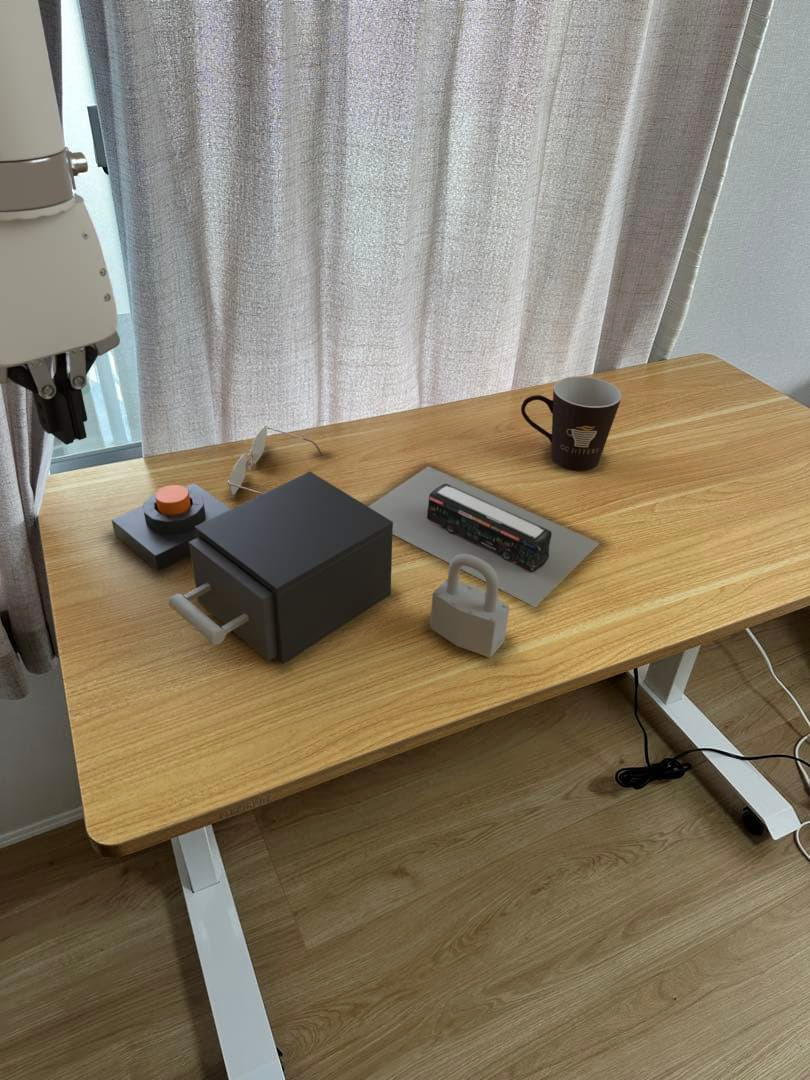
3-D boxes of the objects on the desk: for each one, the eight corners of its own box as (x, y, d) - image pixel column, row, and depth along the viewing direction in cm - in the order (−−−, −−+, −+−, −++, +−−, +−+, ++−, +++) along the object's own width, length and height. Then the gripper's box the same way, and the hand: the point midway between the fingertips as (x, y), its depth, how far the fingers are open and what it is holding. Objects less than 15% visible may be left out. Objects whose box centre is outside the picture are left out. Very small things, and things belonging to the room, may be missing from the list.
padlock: (507, 639, 81) (519, 561, 75) (487, 662, 78) (498, 584, 72) (447, 610, 84) (454, 533, 78) (426, 632, 81) (431, 554, 75)
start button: (169, 519, 88) (166, 506, 87) (151, 506, 90) (148, 493, 89) (196, 507, 90) (195, 494, 89) (178, 493, 92) (176, 481, 91)
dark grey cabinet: (282, 664, 77) (276, 588, 71) (205, 600, 84) (194, 526, 78) (390, 594, 85) (393, 521, 79) (312, 541, 92) (309, 470, 86)
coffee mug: (616, 454, 110) (631, 388, 104) (592, 483, 104) (607, 414, 98) (538, 429, 115) (548, 364, 108) (511, 455, 109) (520, 388, 103)
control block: (158, 571, 87) (152, 542, 85) (114, 535, 92) (108, 506, 89) (241, 530, 93) (238, 501, 91) (196, 497, 98) (192, 470, 96)
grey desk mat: (534, 607, 85) (540, 576, 82) (355, 515, 96) (355, 485, 94) (599, 543, 94) (606, 513, 91) (428, 466, 106) (429, 438, 103)
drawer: (231, 684, 73) (222, 622, 69) (161, 622, 80) (149, 561, 75) (371, 595, 84) (372, 536, 79) (300, 546, 90) (297, 488, 85)
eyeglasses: (266, 445, 108) (266, 420, 106) (323, 458, 108) (325, 432, 105) (227, 503, 97) (226, 475, 95) (290, 517, 97) (291, 490, 94)
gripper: (87, 156, 58) (127, 390, 69) (-142, 186, 49) (-53, 449, 60) (145, 177, 54) (178, 421, 65) (-93, 213, 45) (-8, 490, 56)
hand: (67, 434), depth 62 cm, fingers closed
